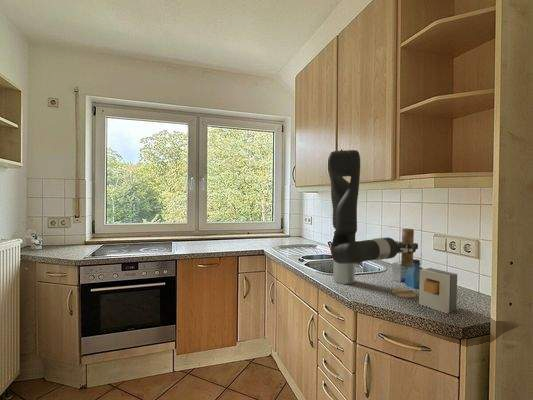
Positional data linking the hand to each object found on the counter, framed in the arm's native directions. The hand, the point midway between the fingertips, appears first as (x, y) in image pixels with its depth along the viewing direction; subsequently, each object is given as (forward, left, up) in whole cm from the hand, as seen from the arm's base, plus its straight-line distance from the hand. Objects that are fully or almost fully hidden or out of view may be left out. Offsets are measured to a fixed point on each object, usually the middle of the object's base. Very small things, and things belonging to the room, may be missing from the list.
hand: (411, 245), depth 115 cm
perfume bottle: (-12, +20, -22) cm, 32 cm away
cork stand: (-7, +5, -22) cm, 23 cm away
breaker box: (+8, +3, -22) cm, 24 cm away
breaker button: (+8, 0, -15) cm, 18 cm away
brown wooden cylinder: (0, -2, -8) cm, 8 cm away
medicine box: (-22, +23, -22) cm, 39 cm away
